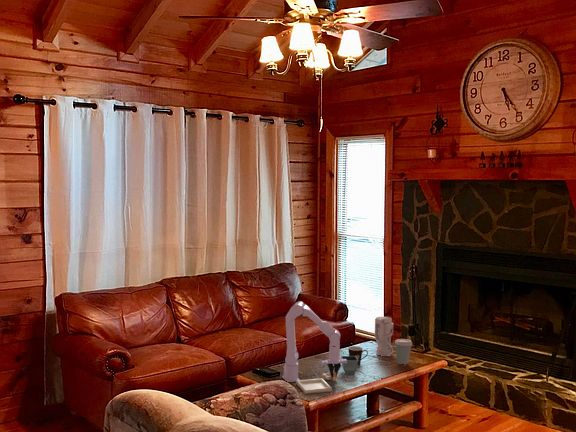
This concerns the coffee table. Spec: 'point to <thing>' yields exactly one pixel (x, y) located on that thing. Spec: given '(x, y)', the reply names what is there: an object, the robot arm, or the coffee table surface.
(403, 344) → the disposable coffee cup
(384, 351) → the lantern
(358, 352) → the coffee mug
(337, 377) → the collar
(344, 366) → the flower pot
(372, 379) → the coffee table surface
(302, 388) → the tray
